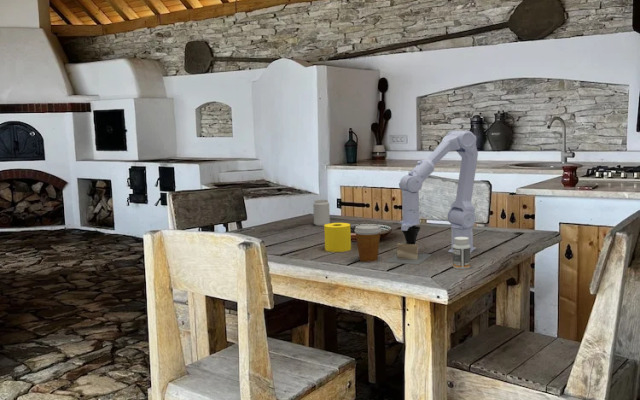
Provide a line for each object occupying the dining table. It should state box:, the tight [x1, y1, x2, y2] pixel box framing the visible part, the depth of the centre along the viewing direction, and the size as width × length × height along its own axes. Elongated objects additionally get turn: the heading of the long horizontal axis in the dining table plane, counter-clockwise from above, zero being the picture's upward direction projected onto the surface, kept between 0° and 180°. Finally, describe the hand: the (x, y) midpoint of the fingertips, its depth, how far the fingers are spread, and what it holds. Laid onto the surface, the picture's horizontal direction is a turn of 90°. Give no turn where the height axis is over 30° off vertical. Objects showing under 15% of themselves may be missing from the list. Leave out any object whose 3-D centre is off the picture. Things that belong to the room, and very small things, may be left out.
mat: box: [385, 252, 433, 266], centre depth 216 cm, size 16×12×1 cm
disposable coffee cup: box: [354, 223, 382, 263], centre depth 216 cm, size 10×10×12 cm
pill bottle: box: [452, 237, 472, 270], centre depth 201 cm, size 6×6×10 cm
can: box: [312, 199, 331, 227], centre depth 290 cm, size 8×8×12 cm
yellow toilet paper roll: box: [323, 222, 352, 253], centre depth 236 cm, size 10×10×9 cm
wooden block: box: [396, 243, 419, 260], centre depth 215 cm, size 2×7×5 cm, turn 63°
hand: (411, 247), depth 218 cm, fingers closed
